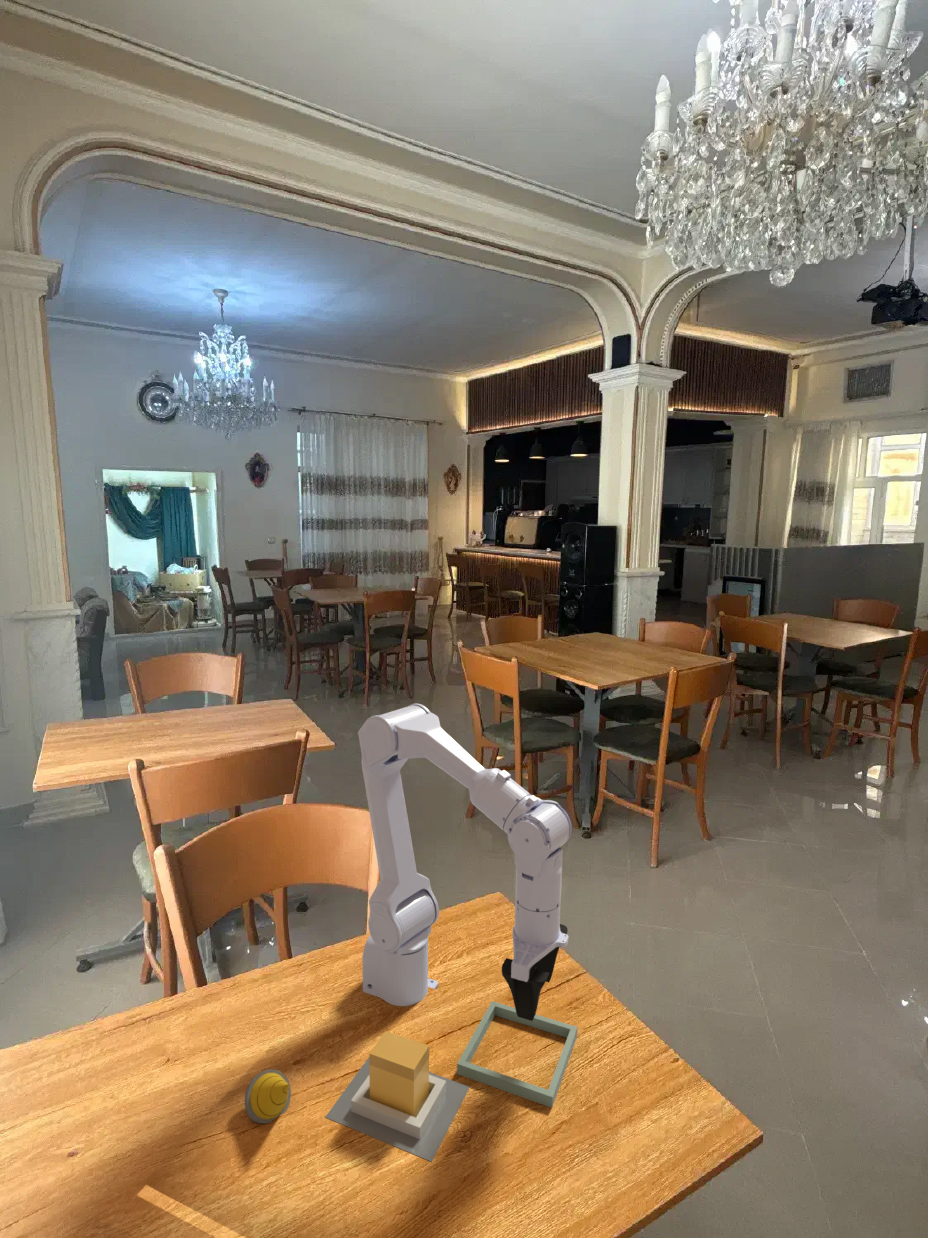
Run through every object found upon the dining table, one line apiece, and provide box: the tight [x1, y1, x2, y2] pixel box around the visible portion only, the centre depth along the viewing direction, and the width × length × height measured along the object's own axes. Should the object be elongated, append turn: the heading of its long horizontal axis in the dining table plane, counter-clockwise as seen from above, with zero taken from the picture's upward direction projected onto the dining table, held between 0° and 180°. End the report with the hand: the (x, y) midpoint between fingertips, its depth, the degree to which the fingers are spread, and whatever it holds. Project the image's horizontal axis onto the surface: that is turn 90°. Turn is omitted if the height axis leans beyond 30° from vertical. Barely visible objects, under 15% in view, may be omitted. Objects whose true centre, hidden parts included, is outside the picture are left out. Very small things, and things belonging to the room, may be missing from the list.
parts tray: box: [456, 1000, 578, 1109], centre depth 90 cm, size 13×13×2 cm
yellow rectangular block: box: [368, 1030, 430, 1118], centre depth 82 cm, size 6×4×7 cm, turn 67°
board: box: [324, 1057, 470, 1163], centre depth 82 cm, size 14×11×2 cm
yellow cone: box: [244, 1068, 292, 1125], centre depth 80 cm, size 5×5×10 cm
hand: (534, 997), depth 87 cm, fingers open, 7 cm apart
